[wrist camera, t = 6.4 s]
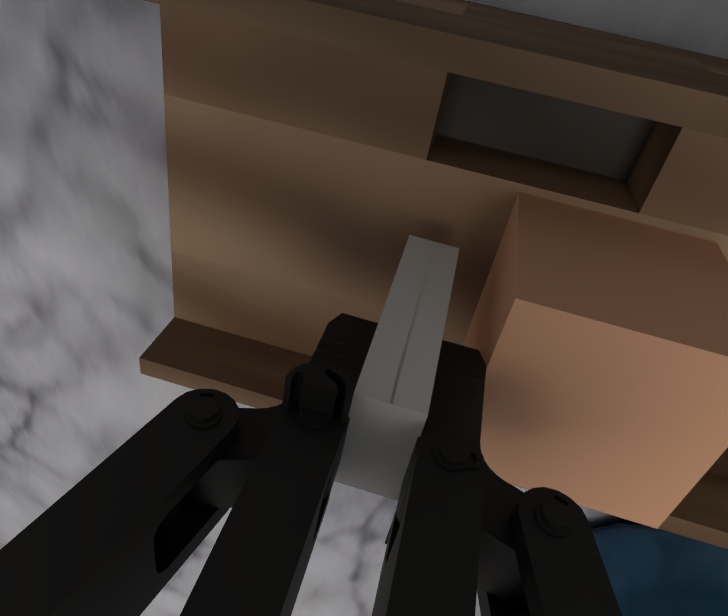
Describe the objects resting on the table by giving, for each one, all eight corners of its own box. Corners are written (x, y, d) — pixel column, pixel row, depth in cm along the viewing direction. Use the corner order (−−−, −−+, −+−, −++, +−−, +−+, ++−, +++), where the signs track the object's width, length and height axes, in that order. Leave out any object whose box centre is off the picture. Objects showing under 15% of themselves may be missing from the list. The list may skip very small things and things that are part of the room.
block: (518, 191, 16) (515, 298, 12) (717, 242, 16) (791, 373, 11) (465, 338, 19) (446, 464, 15) (627, 384, 19) (657, 529, 14)
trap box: (202, -58, 17) (69, -44, 12) (1350, 198, 14) (1780, 351, 9) (204, 297, 24) (125, 392, 20) (941, 506, 22) (1057, 675, 17)
